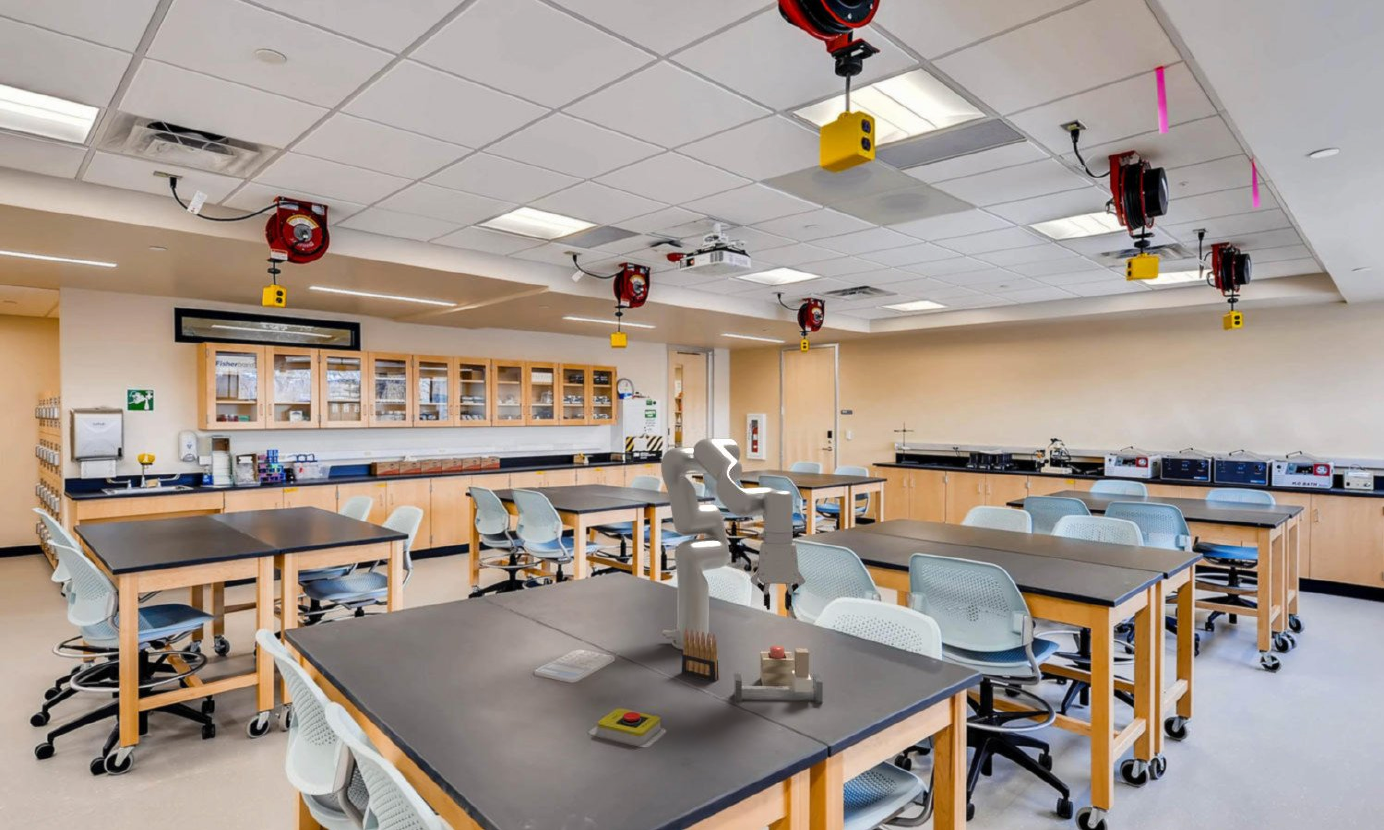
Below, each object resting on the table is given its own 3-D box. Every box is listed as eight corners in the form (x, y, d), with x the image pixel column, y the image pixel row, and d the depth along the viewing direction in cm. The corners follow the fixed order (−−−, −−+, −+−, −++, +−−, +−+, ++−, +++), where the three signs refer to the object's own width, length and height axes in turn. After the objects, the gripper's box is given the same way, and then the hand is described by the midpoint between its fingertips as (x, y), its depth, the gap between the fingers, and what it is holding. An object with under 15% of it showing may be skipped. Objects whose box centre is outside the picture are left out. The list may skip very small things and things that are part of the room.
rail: (735, 701, 165) (735, 680, 165) (734, 693, 170) (734, 673, 170) (822, 702, 165) (822, 681, 165) (818, 694, 170) (818, 674, 170)
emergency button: (647, 729, 141) (586, 715, 148) (647, 750, 141) (586, 736, 148) (668, 712, 150) (609, 700, 156) (668, 732, 150) (609, 719, 156)
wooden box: (762, 686, 175) (762, 659, 175) (760, 678, 181) (760, 651, 181) (794, 687, 175) (794, 659, 175) (790, 678, 181) (791, 651, 181)
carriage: (795, 691, 165) (795, 654, 165) (791, 682, 171) (791, 646, 171) (811, 692, 165) (811, 654, 165) (807, 682, 171) (807, 646, 171)
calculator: (616, 661, 194) (616, 654, 194) (573, 685, 176) (573, 677, 176) (578, 654, 200) (578, 647, 200) (532, 676, 182) (532, 669, 182)
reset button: (770, 664, 176) (771, 650, 176) (769, 660, 180) (769, 645, 180) (785, 665, 176) (785, 650, 176) (783, 660, 180) (783, 645, 180)
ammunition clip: (718, 679, 180) (719, 633, 180) (715, 681, 178) (715, 635, 178) (685, 671, 186) (685, 626, 186) (681, 673, 184) (681, 628, 184)
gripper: (746, 540, 175) (746, 612, 174) (812, 541, 174) (812, 613, 174) (744, 535, 182) (744, 604, 182) (808, 536, 182) (807, 605, 182)
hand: (777, 607), depth 178 cm, fingers open, 4 cm apart
